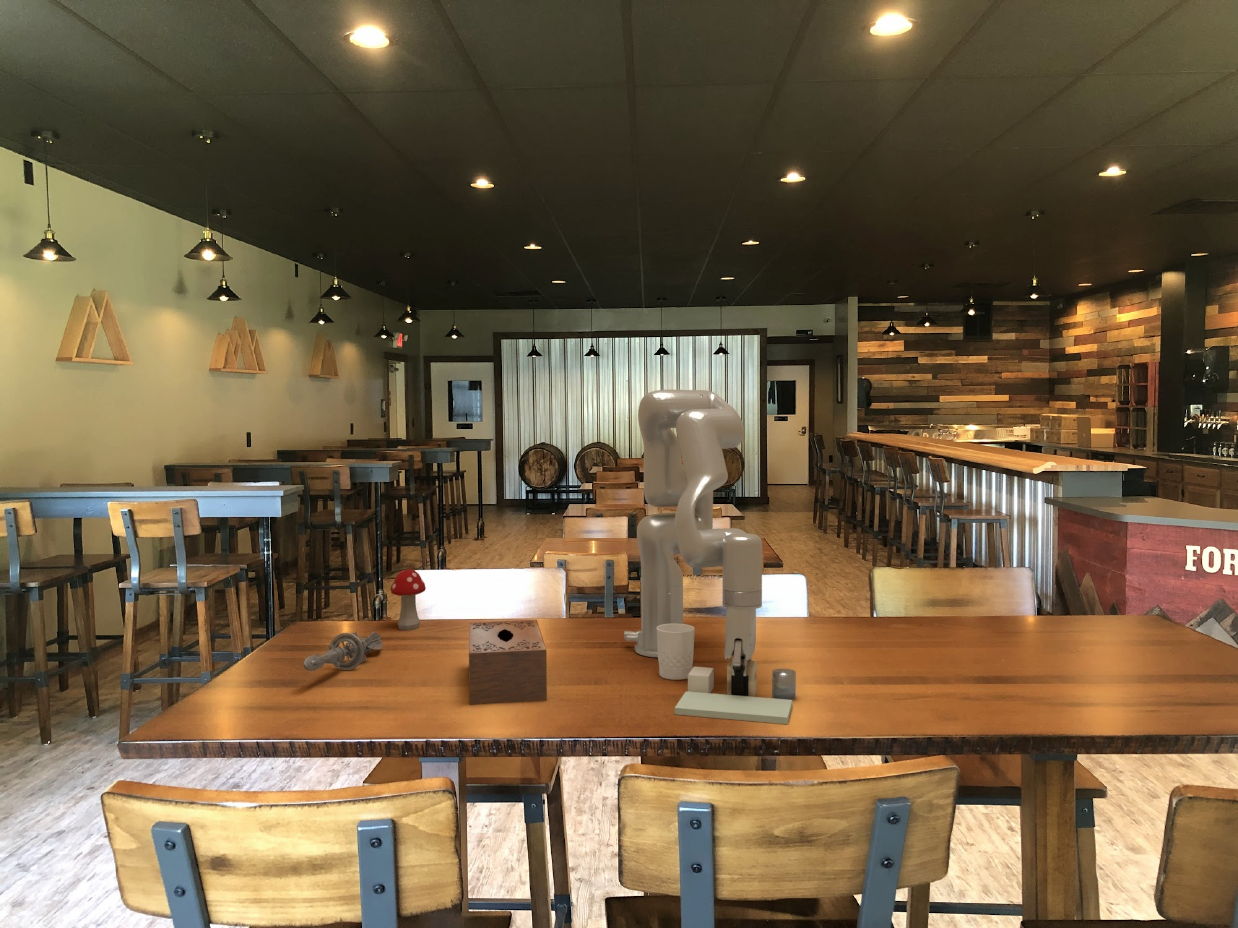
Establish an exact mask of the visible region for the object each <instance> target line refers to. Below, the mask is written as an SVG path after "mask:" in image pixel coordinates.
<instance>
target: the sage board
mask: <svg viewBox="0 0 1238 928" xmlns="http://www.w3.org/2000/svg"><path fill="white" fill-rule="evenodd" d="M792 708H793V701H792V700H786V699H774V698H772V697H770V698H769V697H761V696H759V697H758V696H754V697H749V696H736V695H727V694H723V693H712V692H711V693H699V692H688V690H687V691H685V692H684V694H683V695H682V696H681V697H680V699H679V700H678V703H677V704H676V705H675V706H674V715H676V716H677V715H678V716H687V717H688V716H690V717H700V718H701V717H702V718H712V719H713V718H714V719H723V720H732V721H733V720H735V721H745V722H749V721H750V722H758V723H769V724H778V725H779V724H780V725H788V724H789V719H790V716H791V712H792Z"/></svg>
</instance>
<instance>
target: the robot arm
mask: <svg viewBox="0 0 1238 928" xmlns="http://www.w3.org/2000/svg"><path fill="white" fill-rule="evenodd" d="M638 405H639V406H638V411H637V412H638V413H637V421H638V427H639V430H640V435H641V439H642V442H643V443H642V444H643V494H644V495H643V496H644V499H645V502H646V503H647V504H648V506H651V507H654V508H675V509H676V510H675V512H664V513H663V512H661V513H660V512H659V513H658V512H657V513H653V514H649V515H646V516H644V517H643V518H642V519H641V520H640V521H639V522H638V524H637V526H636V527H637V528H636V539H637V545H638V550H639V557H640V572H641V573H640V574H641V575H640V576H641V578H640V583H641V586H640V587H641V593H640V595H641V596H640V597H641V602H640V603H641V605H640V606H641V613H640V614H641V618H640V619H641V620H640V621H641V629H640V630H636V631H632V630H624V631H623V639H624V640H626V641H627V642H635V643H636V644H635V645H634V651H635V652H636V654H639V655H641V656H644V657H648V658H658V649H657V627H658V626H659V625H663V624H684V576H683V571H682V569H681V567H680V565H679V564H678V563H677V561H676V560H675V559H674V556H677V555H680V556H681V558H682V560H683V561H684V563H685V564H686V566H689V568H690V567H691V568H694V569H705V568H707V569H708V568H717V567H718V568H719V567H720V568H722V607H724V608H725V609H726V616H725V630H724V631H725V632H724V633H725V635H724V654H723V655H724V659H725V660H729V659H731V658H732V675H731V695H736V696H748V678H749V676H747V662H748V661H753V660H752V657H753V655H754V653H755V650H756V639H757V610H758V609H759V608H762V607H763V542H762V538H761V537H760V536H759V535H757V534H755V533H748V532H746V531H744V530H742V529H740V528H737V527H730V528H729V527H728V528H727V527H726V528H713V527H714V526H713V524H714V522H713V521H714V519H713V517H714V515H713V514H714V491H715V490H717V489H719V488H721V487H722V486H723V485H725V483H727V481H728V478H729V475H728V474H729V473H728V470H727V466H726V461H725V458H724V452H723V449H735V448H736V447H738V446H739V445H741V443H742V442H743V439H744V431H745V430H744V429H745V428H744V424H743V422H742V419H741V416H740V415H739V413H738V412H737V410H736V409H735V408H734V407H733V406H732V405H730V404H729V403H728V402H727V401H726V400H724V399H723V398H722V397H720V396H719V394H717V393H716V392H713V391H711V390H706V389H705V390H703V389H658V390H654V391H650V392H648V393H646V394H645V395H644V396H643V397H642V398H641V400H640V402H639V404H638ZM672 429H675V431H676V434H675V432H674V431H673V430H672ZM741 663H744V666H743V665H742V664H741ZM743 667H744V668H743Z"/></svg>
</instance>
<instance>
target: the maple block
mask: <svg viewBox="0 0 1238 928" xmlns="http://www.w3.org/2000/svg"><path fill="white" fill-rule="evenodd" d="M757 662H758V661H757V660H752V661H748V662H747V676H749V678H748V696H749V697H756V694H757V690H758V689H757V688H758V687H757V684H758V683H757V678H758V677H757V669H758V667H757ZM741 664H742V665H743V666H744V663H741ZM743 668H744V667H743ZM731 675H732V659H731V658H730V661H729V662H728V664H727V665H726V695H731Z"/></svg>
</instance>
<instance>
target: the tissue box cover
mask: <svg viewBox="0 0 1238 928" xmlns="http://www.w3.org/2000/svg"><path fill="white" fill-rule="evenodd" d="M468 626H469V627H468V632H469V633H468V674H469V675H468V680H469V682H468V683H469V685H468V687H469V688H468V689H469V690H468V692H469V695H468V696H469V706H476V705H477V706H478V705H492V704H494V705H495V704H513V703H514V704H515V703H530V702H531V703H532V702H546V701H548V682H547V681H548V676H547V675H548V674H547V670H548V667H547V665H548V663H547V662H548V661H547V652H548V651H547V648H546V647H547V646H546V644H545V640H544V638H543V635H542V632H541V629H540V625H539V622H538V620H537V619H523V620H522V619H521V620H500V621H499V620H497V621H495V620H494V621H477V622H476V621H471V622H469V623H468Z"/></svg>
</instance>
